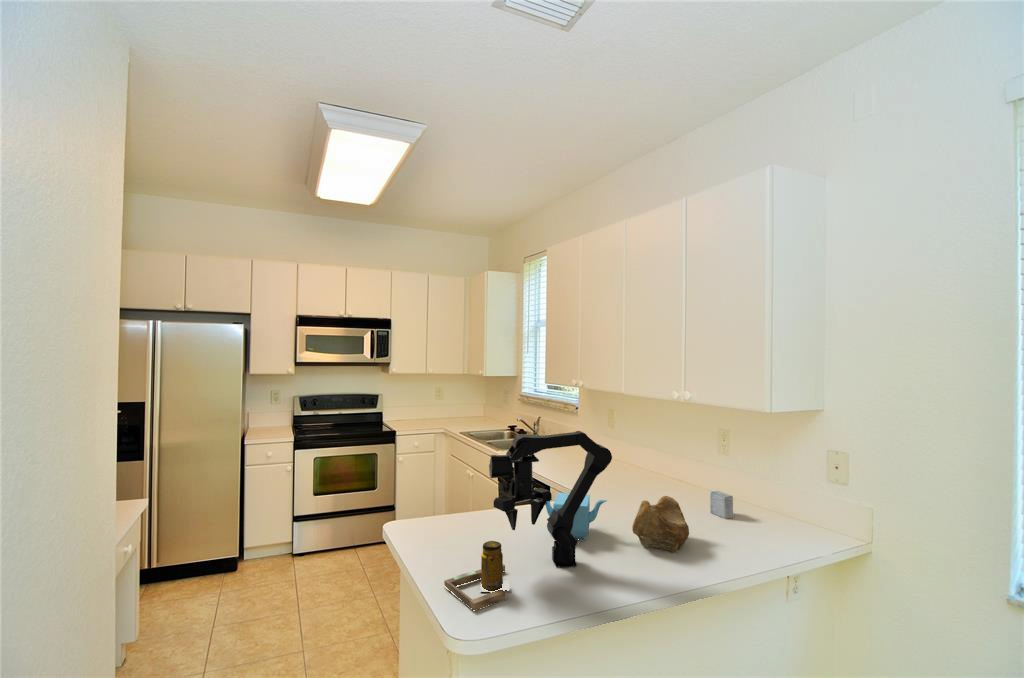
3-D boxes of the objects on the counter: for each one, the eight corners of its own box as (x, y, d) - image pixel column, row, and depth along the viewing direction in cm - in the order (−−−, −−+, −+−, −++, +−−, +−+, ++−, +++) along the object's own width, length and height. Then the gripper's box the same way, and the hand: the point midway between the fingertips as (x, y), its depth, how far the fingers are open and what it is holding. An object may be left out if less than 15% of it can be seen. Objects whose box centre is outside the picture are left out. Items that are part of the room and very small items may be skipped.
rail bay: (501, 569, 153) (501, 562, 153) (533, 589, 140) (533, 581, 140) (444, 587, 141) (444, 579, 141) (473, 611, 129) (473, 602, 129)
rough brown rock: (669, 565, 158) (674, 518, 157) (624, 546, 169) (628, 502, 169) (702, 547, 174) (707, 504, 173) (659, 530, 186) (663, 490, 185)
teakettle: (568, 548, 169) (569, 504, 169) (535, 531, 184) (535, 490, 184) (609, 536, 179) (609, 495, 179) (574, 521, 195) (574, 483, 195)
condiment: (479, 581, 145) (479, 539, 145) (508, 580, 146) (509, 538, 146) (480, 593, 138) (480, 549, 138) (511, 592, 139) (511, 548, 139)
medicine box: (733, 517, 199) (733, 495, 199) (724, 519, 198) (724, 497, 198) (718, 511, 207) (718, 490, 207) (710, 513, 205) (709, 491, 205)
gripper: (530, 466, 167) (531, 513, 167) (483, 475, 156) (483, 526, 156) (552, 473, 158) (553, 523, 158) (504, 483, 147) (504, 537, 147)
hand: (523, 527), depth 155 cm, fingers open, 7 cm apart
